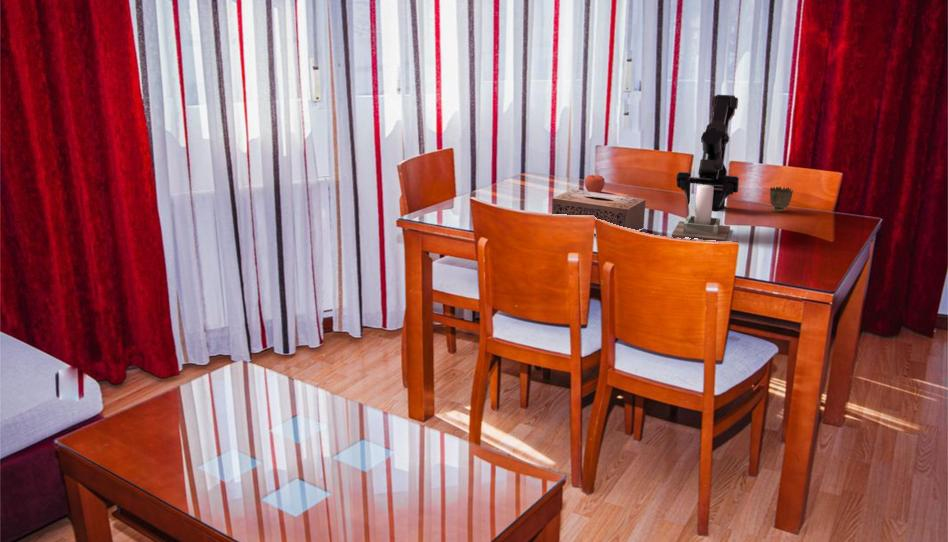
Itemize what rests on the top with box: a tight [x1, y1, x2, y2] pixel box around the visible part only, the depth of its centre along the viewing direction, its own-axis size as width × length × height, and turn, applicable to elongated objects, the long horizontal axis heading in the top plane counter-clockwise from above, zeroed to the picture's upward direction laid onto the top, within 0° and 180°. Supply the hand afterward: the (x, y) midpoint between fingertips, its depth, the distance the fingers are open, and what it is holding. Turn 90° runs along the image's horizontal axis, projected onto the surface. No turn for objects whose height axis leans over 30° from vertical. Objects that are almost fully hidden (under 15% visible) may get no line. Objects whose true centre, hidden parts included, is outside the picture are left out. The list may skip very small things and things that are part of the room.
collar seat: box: [671, 214, 731, 241], centre depth 264 cm, size 16×16×4 cm
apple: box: [584, 173, 606, 193], centre depth 314 cm, size 7×7×8 cm
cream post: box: [694, 184, 714, 225], centre depth 263 cm, size 5×5×14 cm
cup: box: [769, 186, 794, 213], centre depth 290 cm, size 8×7×8 cm
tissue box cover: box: [551, 188, 646, 230], centre depth 270 cm, size 26×14×10 cm, turn 58°
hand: (703, 205), depth 261 cm, fingers open, 9 cm apart
